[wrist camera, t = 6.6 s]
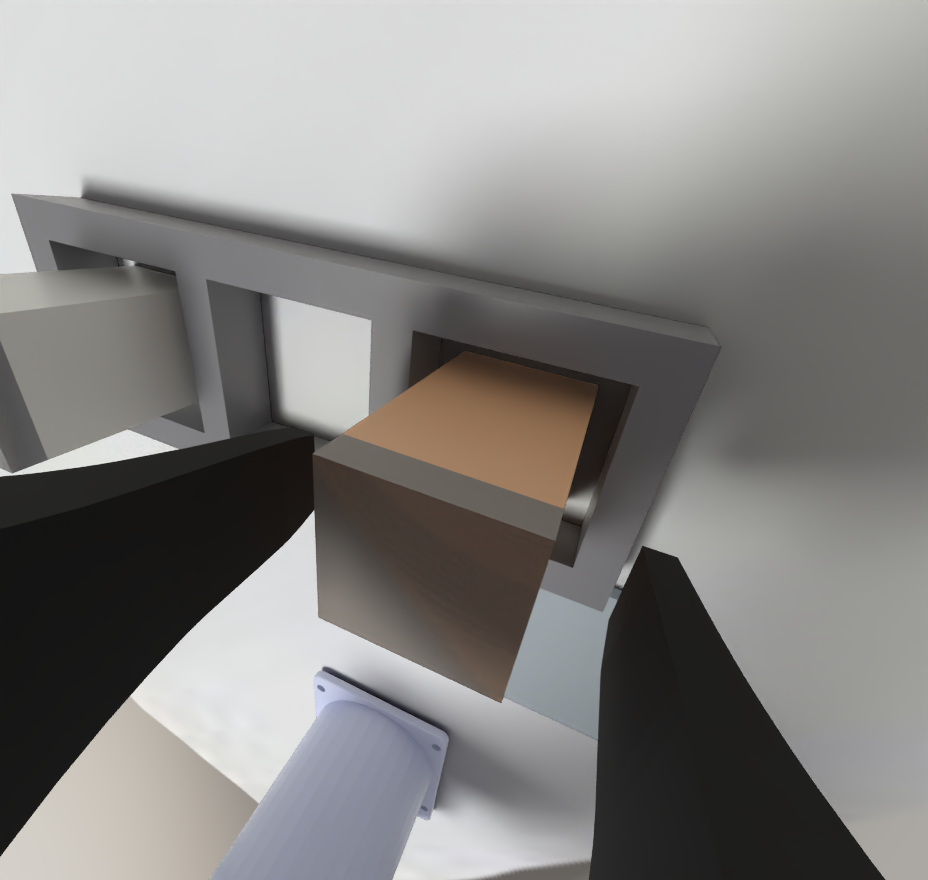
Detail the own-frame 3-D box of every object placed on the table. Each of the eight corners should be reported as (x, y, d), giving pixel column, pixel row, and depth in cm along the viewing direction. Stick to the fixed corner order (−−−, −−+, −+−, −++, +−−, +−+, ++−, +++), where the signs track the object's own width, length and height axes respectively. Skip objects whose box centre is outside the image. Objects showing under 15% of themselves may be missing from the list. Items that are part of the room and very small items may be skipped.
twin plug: (230, 389, 17) (12, 473, 11) (156, 365, 18) (-80, 430, 12) (215, 286, 15) (-58, 320, 9) (133, 265, 16) (-161, 285, 10)
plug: (561, 499, 14) (501, 703, 8) (448, 462, 15) (318, 617, 9) (598, 385, 12) (555, 540, 6) (465, 350, 13) (312, 453, 7)
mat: (619, 737, 17) (618, 750, 17) (451, 661, 19) (447, 670, 19) (692, 616, 14) (694, 628, 13) (476, 536, 16) (471, 545, 15)
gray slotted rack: (607, 566, 14) (602, 612, 12) (132, 396, 19) (84, 412, 18) (708, 327, 10) (721, 346, 8) (79, 197, 16) (11, 193, 14)
